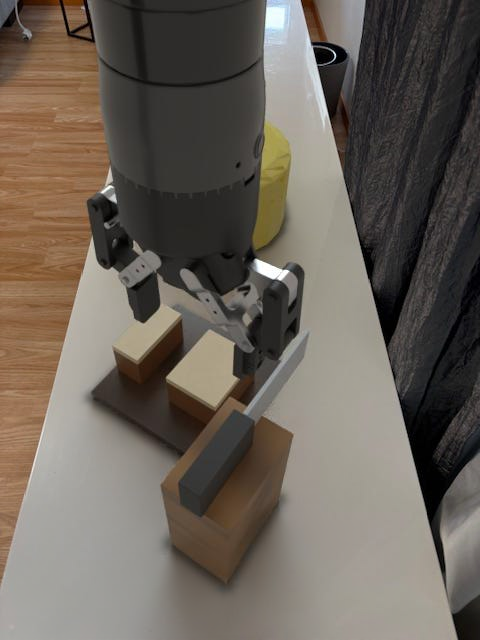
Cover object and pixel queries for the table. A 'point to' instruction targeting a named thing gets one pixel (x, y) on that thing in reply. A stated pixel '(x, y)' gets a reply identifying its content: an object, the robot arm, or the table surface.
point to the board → (152, 396)
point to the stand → (229, 497)
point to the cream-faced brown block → (206, 378)
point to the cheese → (272, 185)
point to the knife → (234, 439)
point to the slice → (148, 343)
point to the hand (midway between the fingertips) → (195, 341)
